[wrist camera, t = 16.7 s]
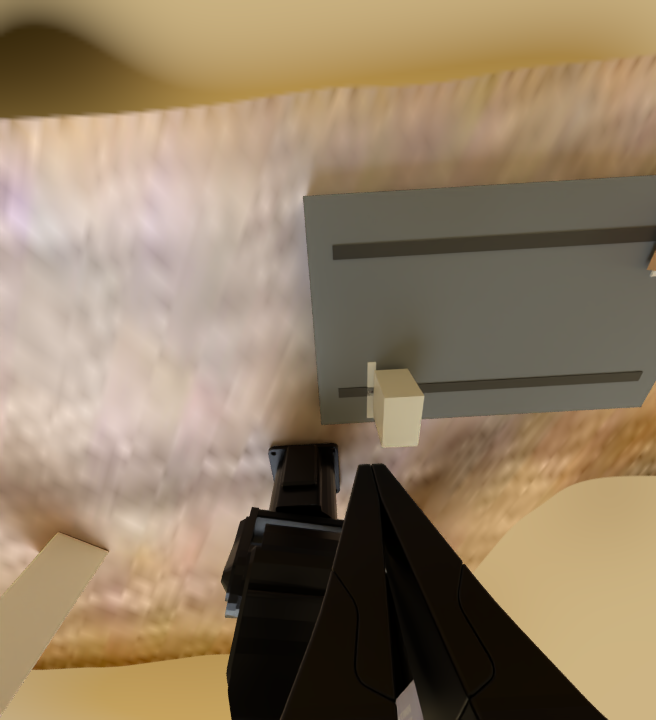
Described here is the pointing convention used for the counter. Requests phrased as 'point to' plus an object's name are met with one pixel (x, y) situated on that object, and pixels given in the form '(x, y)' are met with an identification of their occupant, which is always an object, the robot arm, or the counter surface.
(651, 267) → the copper slider
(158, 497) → the counter surface
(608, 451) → the counter surface
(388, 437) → the cream slider
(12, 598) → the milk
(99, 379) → the counter surface
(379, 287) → the panel
